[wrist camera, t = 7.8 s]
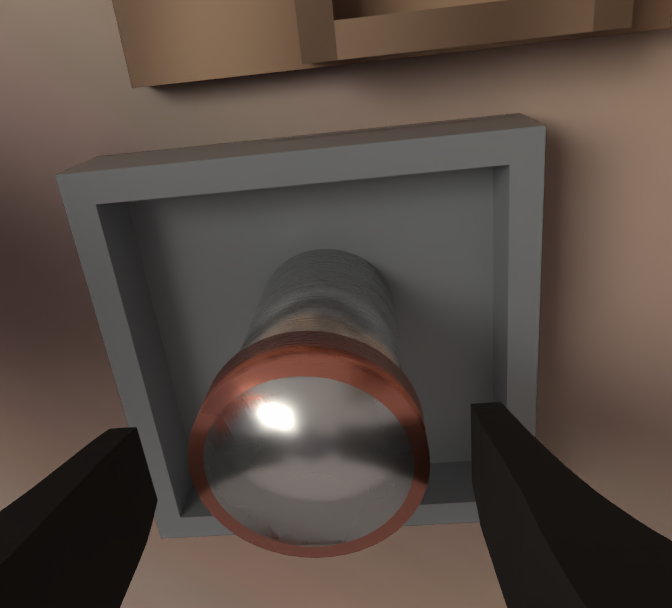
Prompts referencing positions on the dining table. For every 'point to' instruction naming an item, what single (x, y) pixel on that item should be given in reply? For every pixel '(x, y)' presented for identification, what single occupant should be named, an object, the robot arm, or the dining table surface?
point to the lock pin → (314, 416)
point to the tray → (310, 234)
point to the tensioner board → (348, 31)
